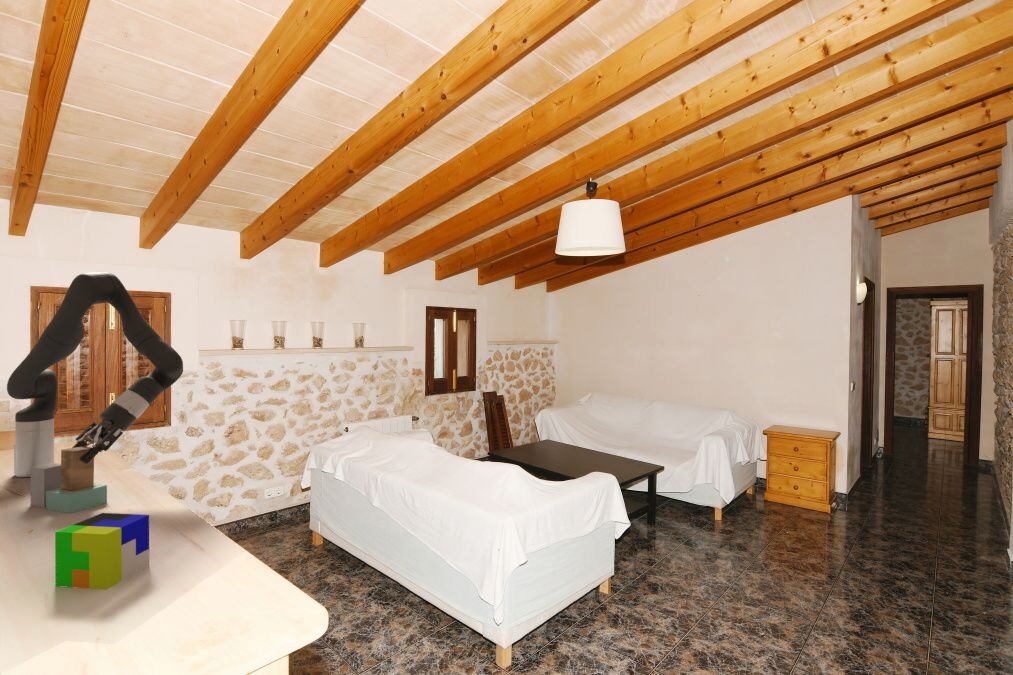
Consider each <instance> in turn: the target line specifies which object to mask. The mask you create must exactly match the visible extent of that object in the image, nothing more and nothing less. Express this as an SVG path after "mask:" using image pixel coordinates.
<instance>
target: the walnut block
mask: <svg viewBox="0 0 1013 675" xmlns="http://www.w3.org/2000/svg"><path fill="white" fill-rule="evenodd" d="M89 448H90V447H89V446H87V447H84V446H82V447H76V448H72V447H71V448H65V449H61V450H60V464H61V488H62V489H67V490H71V491H72V490H77V489H81V488H86V487H91V486H94V483H95V480H94V478H95V457H94V458H93V459H92V460H91V461H90V462H89V463H87V464H86V463H84V462H82V461H80V457H81V456H82V455H83V454H84V453H85V452H86V451H87V450H88V449H89Z"/></svg>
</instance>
